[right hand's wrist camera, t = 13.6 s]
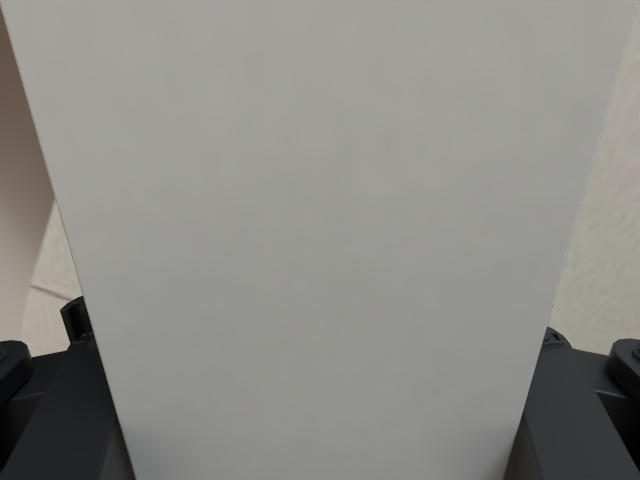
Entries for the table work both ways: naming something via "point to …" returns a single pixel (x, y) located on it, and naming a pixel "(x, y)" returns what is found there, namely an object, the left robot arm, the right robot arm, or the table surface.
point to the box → (319, 218)
